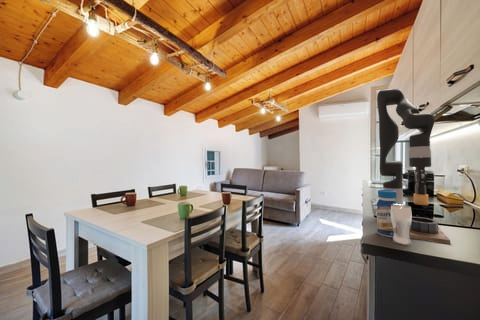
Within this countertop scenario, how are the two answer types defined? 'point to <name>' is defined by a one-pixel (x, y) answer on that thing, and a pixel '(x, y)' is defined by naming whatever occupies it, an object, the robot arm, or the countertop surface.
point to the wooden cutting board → (431, 236)
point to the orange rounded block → (420, 197)
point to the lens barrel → (424, 225)
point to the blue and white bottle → (385, 212)
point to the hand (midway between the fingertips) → (420, 194)
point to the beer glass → (401, 223)
